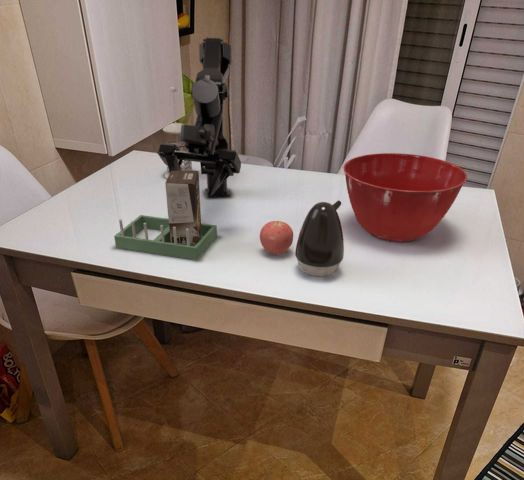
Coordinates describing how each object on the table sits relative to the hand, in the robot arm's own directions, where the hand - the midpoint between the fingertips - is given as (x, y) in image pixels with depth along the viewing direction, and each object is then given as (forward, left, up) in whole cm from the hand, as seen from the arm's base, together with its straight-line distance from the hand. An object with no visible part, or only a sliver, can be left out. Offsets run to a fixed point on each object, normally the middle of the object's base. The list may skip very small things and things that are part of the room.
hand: (191, 192), depth 113 cm
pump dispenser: (+21, +25, -11) cm, 34 cm away
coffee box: (+4, -2, -11) cm, 12 cm away
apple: (+11, +18, -11) cm, 24 cm away
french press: (-48, +1, -11) cm, 49 cm away
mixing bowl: (+4, +50, -11) cm, 51 cm away
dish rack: (+1, -6, -11) cm, 13 cm away
